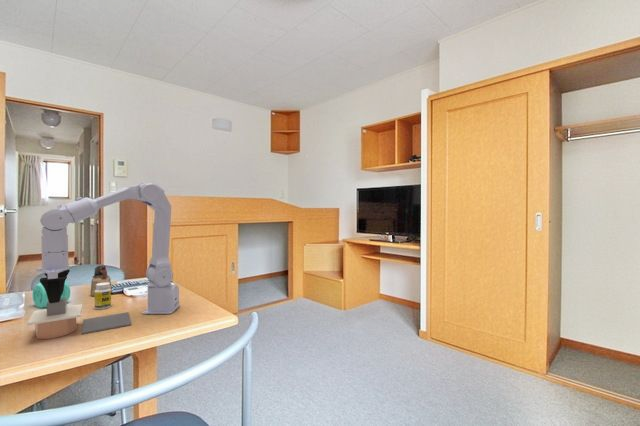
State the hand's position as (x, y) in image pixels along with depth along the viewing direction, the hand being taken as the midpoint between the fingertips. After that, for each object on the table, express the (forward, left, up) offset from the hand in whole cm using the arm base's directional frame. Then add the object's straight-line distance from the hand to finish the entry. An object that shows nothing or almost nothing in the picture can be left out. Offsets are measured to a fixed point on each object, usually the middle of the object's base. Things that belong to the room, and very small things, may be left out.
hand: (56, 298), depth 89 cm
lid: (0, 0, -5) cm, 5 cm away
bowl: (0, 0, -10) cm, 10 cm away
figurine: (+10, -37, -10) cm, 40 cm away
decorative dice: (+20, -25, -10) cm, 34 cm away
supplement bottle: (0, -21, -10) cm, 23 cm away
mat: (-10, -6, -10) cm, 15 cm away
